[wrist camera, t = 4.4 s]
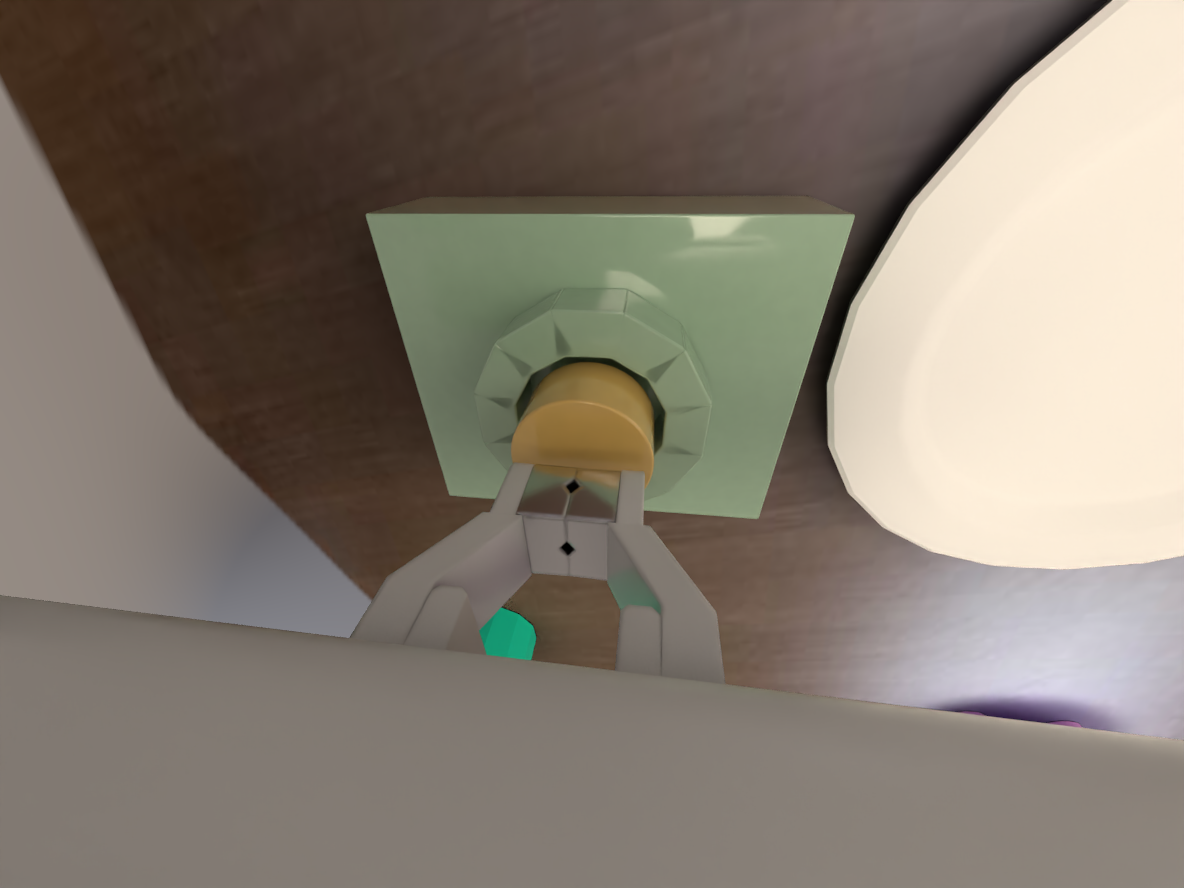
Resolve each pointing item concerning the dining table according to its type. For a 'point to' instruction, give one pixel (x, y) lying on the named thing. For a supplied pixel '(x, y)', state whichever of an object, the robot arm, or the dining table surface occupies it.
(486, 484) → the push button box
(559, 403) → the button
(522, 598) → the dining table surface
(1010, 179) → the plate
